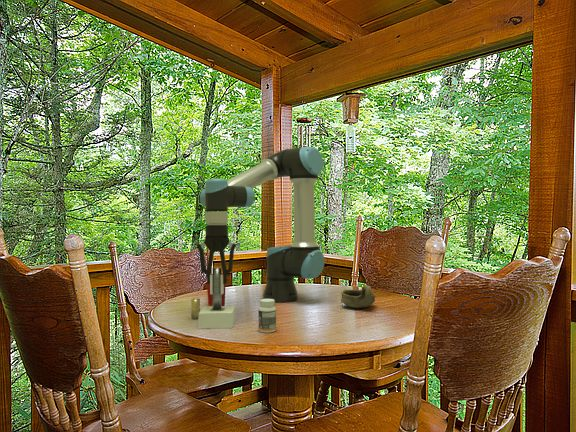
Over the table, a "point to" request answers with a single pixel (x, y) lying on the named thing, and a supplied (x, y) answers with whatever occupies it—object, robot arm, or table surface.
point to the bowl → (358, 297)
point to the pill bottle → (267, 316)
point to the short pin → (195, 308)
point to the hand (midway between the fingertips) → (217, 293)
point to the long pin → (217, 289)
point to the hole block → (217, 317)
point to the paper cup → (210, 296)
